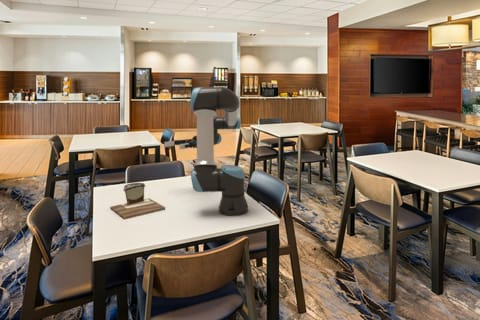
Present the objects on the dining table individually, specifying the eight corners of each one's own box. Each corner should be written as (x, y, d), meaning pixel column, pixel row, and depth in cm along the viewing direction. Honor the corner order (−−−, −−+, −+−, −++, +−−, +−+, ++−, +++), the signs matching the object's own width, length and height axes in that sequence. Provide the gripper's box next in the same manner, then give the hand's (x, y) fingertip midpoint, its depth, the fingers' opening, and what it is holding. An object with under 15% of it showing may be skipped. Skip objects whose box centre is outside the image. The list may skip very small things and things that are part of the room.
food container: (140, 198, 204) (138, 181, 202) (146, 200, 200) (145, 183, 198) (120, 203, 195) (118, 185, 193) (126, 206, 191) (124, 187, 189)
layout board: (165, 209, 189) (165, 206, 189) (124, 219, 176) (123, 216, 175) (149, 200, 204) (149, 197, 204) (110, 208, 191) (110, 206, 191)
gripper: (214, 149, 213) (186, 154, 198) (187, 145, 229) (159, 150, 214) (214, 136, 211) (186, 141, 196) (186, 133, 228) (158, 137, 213)
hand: (172, 145), depth 205 cm, fingers open, 13 cm apart
